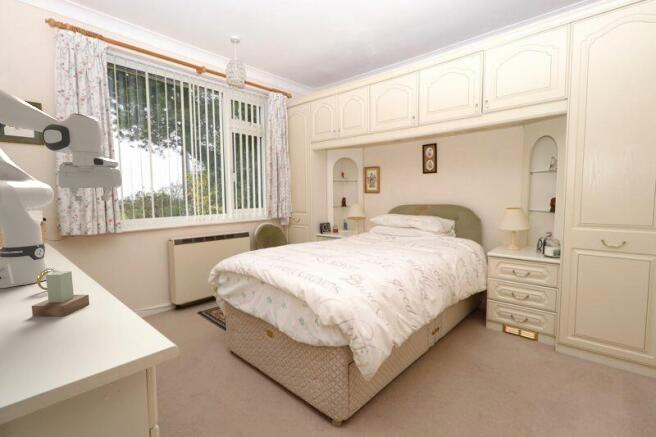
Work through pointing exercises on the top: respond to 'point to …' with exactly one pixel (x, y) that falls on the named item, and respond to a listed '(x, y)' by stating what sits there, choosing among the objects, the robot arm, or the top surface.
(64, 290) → the block
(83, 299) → the plinth
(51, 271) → the ring
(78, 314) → the top surface
